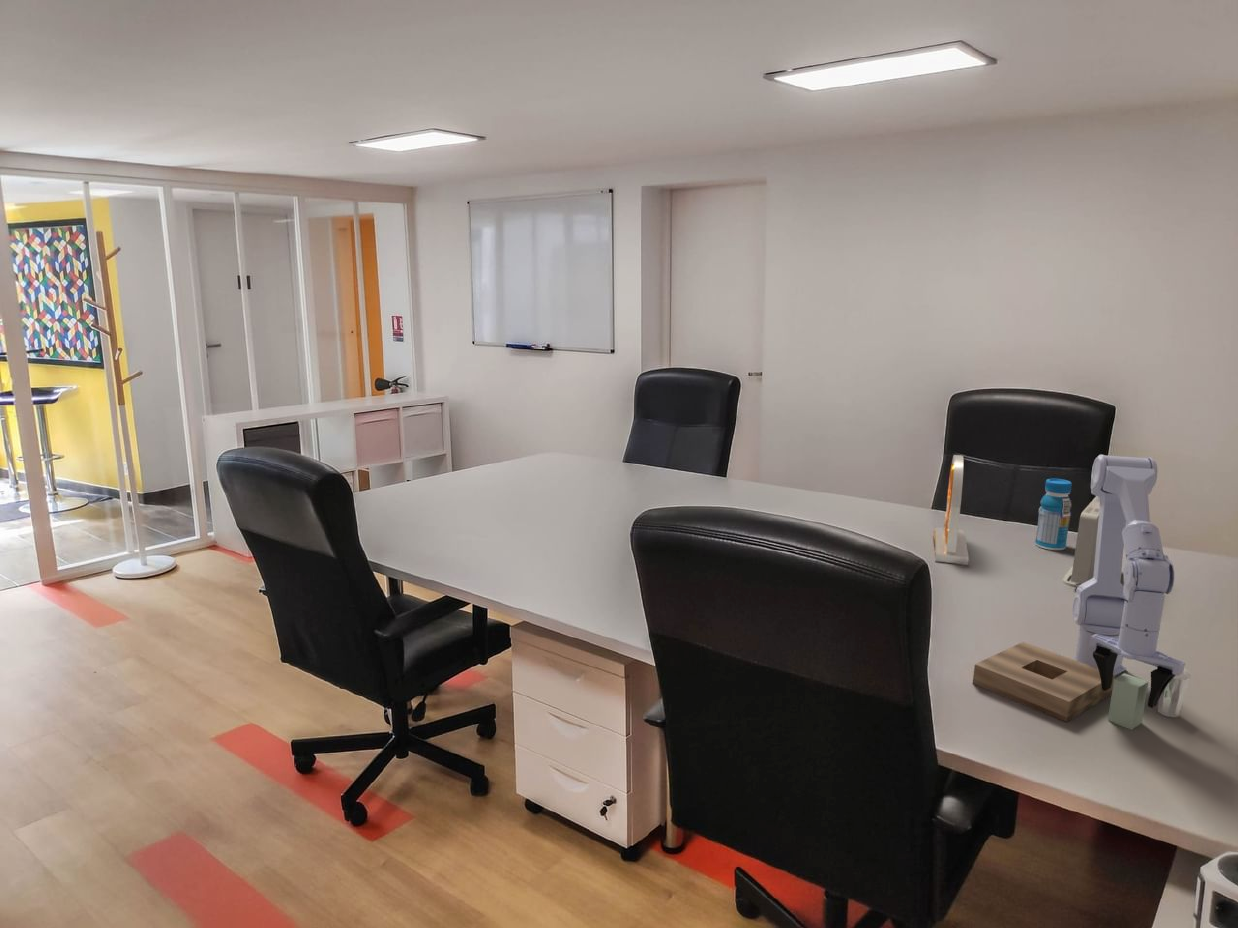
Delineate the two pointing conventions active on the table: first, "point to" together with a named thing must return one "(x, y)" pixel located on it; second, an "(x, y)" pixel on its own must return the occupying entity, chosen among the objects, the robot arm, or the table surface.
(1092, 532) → the network device
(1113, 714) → the peg
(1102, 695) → the socket block
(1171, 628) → the table surface
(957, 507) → the award
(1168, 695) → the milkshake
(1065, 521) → the beverage bottle
